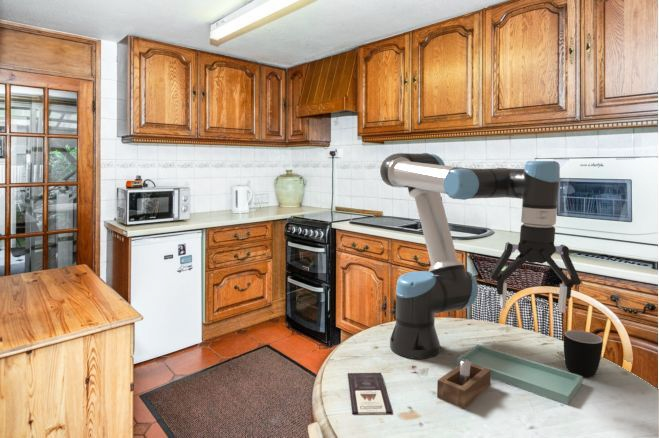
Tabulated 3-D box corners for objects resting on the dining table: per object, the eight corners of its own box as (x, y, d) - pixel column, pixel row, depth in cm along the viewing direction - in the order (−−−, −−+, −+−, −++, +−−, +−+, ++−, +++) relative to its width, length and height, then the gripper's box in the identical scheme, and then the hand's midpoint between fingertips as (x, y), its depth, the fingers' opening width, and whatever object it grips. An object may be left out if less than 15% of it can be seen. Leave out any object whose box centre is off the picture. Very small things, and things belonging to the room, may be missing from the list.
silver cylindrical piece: (455, 391, 102) (456, 361, 101) (461, 387, 104) (462, 357, 103) (467, 396, 99) (468, 365, 98) (473, 391, 102) (474, 361, 101)
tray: (456, 365, 115) (457, 358, 115) (477, 351, 125) (477, 344, 124) (567, 405, 96) (567, 396, 95) (582, 384, 105) (582, 376, 105)
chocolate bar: (380, 372, 111) (391, 411, 93) (380, 375, 111) (391, 415, 93) (347, 373, 110) (352, 412, 93) (347, 376, 111) (352, 416, 93)
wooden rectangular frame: (437, 397, 99) (437, 380, 99) (467, 374, 110) (467, 358, 110) (464, 409, 94) (464, 390, 94) (492, 384, 105) (493, 367, 105)
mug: (607, 381, 106) (610, 344, 105) (570, 379, 108) (572, 342, 106) (585, 360, 118) (587, 326, 117) (552, 358, 119) (554, 325, 118)
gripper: (486, 225, 98) (481, 310, 101) (602, 229, 93) (593, 318, 96) (481, 221, 105) (476, 300, 108) (588, 224, 100) (580, 307, 103)
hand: (531, 308), depth 102 cm, fingers open, 13 cm apart
